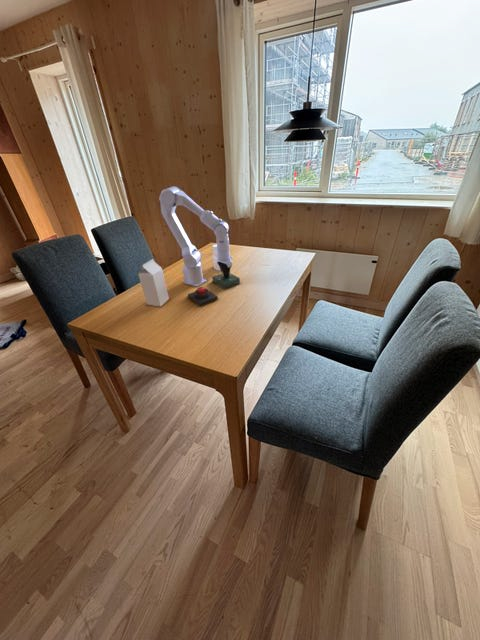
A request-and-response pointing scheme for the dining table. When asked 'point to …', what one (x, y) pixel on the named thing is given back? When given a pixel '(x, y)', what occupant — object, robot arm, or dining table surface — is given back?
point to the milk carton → (153, 284)
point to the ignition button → (201, 290)
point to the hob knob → (223, 275)
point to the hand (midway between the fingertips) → (225, 276)
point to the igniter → (202, 297)
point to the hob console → (226, 281)
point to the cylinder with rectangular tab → (215, 257)
